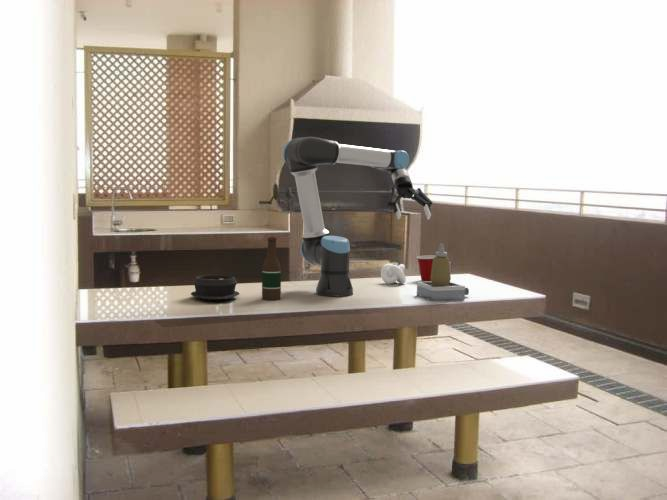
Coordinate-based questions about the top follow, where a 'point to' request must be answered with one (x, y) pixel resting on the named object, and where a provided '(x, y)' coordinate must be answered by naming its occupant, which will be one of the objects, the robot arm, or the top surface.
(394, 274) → the white plush toy
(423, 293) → the box
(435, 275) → the squeeze bottle
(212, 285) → the casserole
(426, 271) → the plastic cup
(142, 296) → the top surface
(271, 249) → the beer bottle
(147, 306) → the top surface
